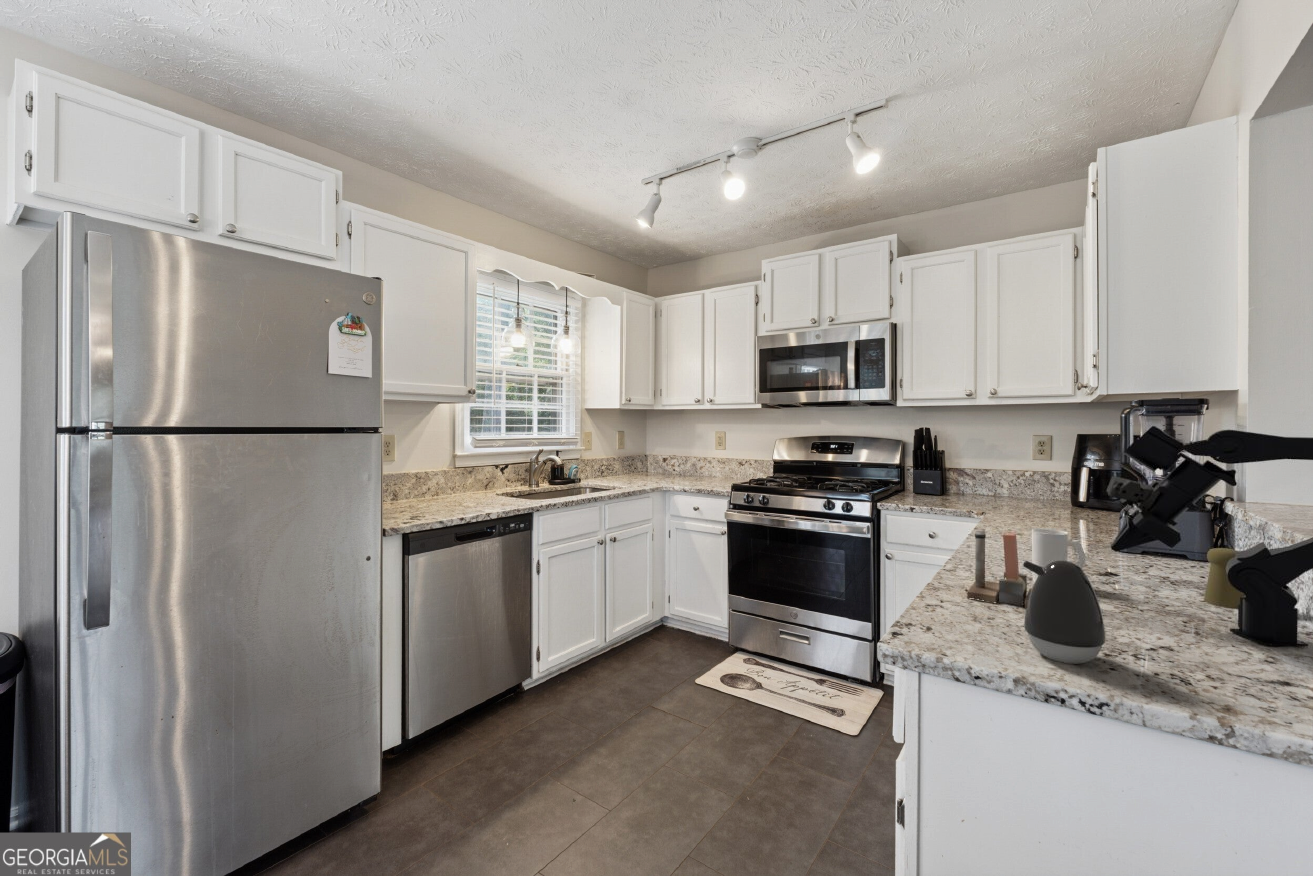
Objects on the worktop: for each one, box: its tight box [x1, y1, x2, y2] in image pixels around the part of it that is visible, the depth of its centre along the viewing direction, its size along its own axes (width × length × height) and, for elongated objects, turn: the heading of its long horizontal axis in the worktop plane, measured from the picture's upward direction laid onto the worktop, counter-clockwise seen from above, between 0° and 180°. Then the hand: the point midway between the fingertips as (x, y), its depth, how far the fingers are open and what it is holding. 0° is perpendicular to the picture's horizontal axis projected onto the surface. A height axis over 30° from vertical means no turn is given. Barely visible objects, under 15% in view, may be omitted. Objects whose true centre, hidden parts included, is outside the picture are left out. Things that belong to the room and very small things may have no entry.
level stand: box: [967, 529, 1033, 609], centre depth 115 cm, size 15×11×14 cm
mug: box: [1031, 528, 1086, 584], centre depth 123 cm, size 10×7×12 cm, turn 33°
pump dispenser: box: [1022, 560, 1106, 665], centre depth 86 cm, size 10×10×15 cm
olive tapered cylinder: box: [1203, 547, 1245, 610], centre depth 110 cm, size 6×6×11 cm
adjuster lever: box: [1002, 532, 1026, 593], centre depth 115 cm, size 4×4×13 cm
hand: (1113, 549), depth 106 cm, fingers closed
